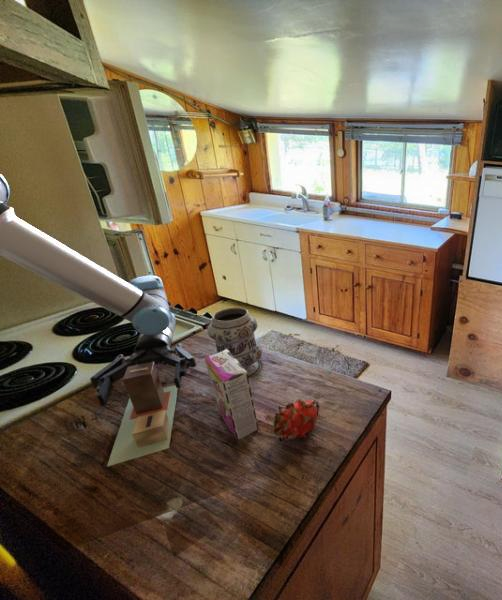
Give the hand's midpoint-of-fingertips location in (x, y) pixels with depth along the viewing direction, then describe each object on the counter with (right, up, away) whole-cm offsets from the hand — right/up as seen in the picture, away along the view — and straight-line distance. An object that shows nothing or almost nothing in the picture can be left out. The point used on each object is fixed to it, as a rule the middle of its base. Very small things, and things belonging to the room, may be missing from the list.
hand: (140, 391), depth 72 cm
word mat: (0, -7, +2) cm, 7 cm away
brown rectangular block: (-2, -5, +5) cm, 7 cm away
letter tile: (+5, -9, -2) cm, 10 cm away
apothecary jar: (+13, 0, +19) cm, 23 cm away
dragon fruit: (+35, -9, +1) cm, 36 cm away
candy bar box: (+21, -8, +2) cm, 22 cm away
